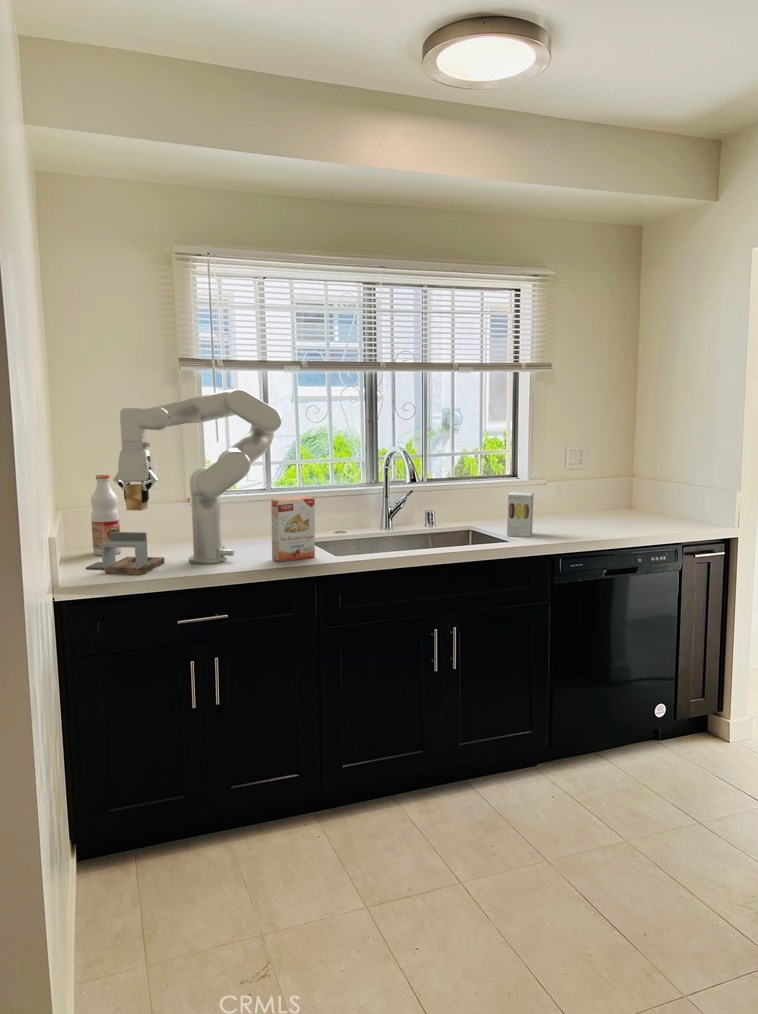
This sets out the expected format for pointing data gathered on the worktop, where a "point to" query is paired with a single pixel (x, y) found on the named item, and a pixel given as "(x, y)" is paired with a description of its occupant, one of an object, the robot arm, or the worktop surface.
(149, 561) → the board
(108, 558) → the cover
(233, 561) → the worktop surface
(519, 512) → the supplement box
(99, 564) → the mat
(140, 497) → the block
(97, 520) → the fruit juice
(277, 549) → the cracker box
